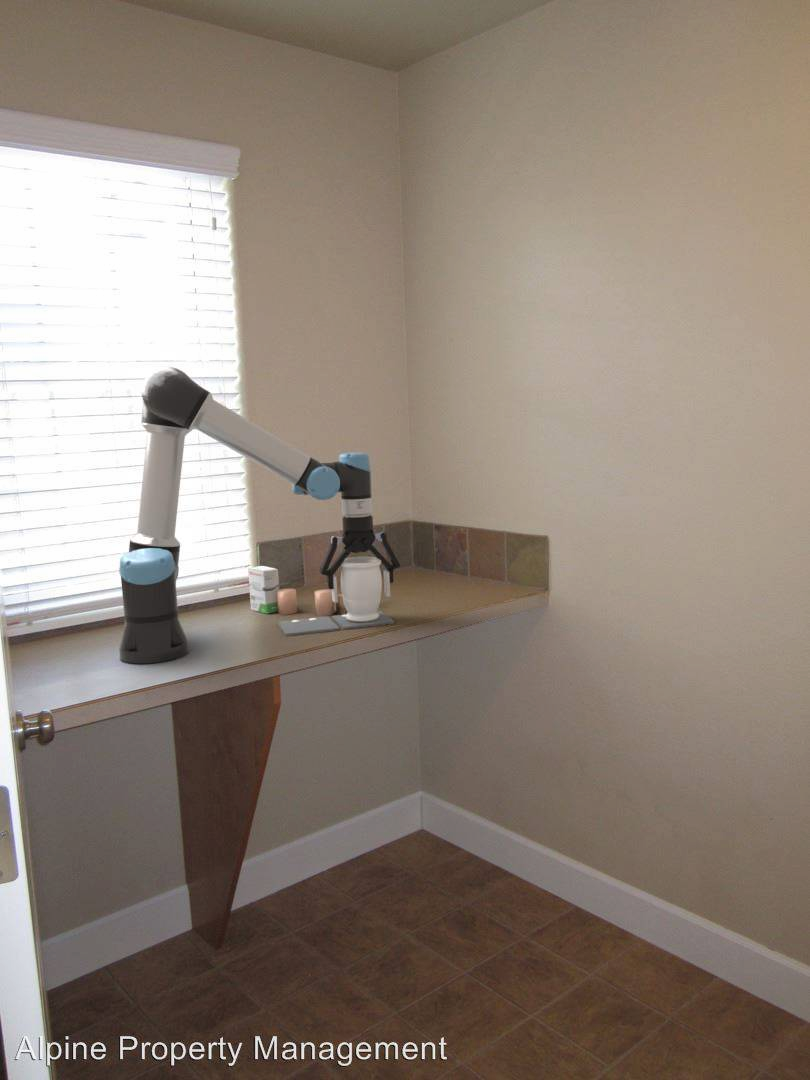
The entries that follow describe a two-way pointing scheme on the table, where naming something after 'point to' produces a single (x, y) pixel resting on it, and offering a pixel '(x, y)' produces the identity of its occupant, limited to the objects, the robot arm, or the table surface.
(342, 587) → the jar
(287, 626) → the pad two
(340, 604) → the walnut block
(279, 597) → the tan rounded block
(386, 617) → the pad three
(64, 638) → the table surface
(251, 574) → the ink box
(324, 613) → the pink rounded piece
